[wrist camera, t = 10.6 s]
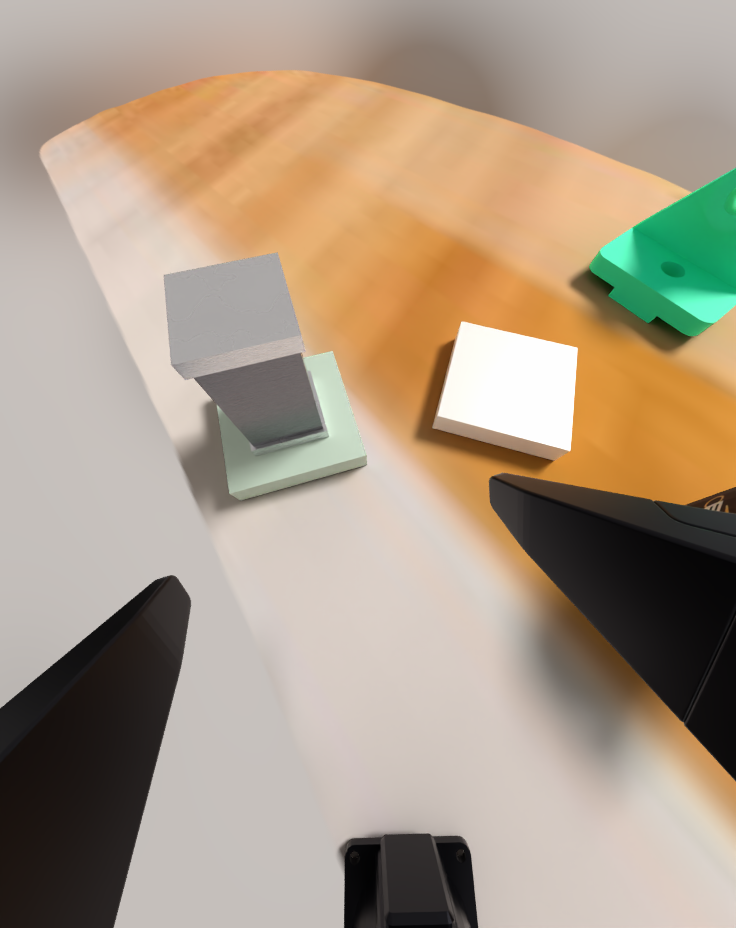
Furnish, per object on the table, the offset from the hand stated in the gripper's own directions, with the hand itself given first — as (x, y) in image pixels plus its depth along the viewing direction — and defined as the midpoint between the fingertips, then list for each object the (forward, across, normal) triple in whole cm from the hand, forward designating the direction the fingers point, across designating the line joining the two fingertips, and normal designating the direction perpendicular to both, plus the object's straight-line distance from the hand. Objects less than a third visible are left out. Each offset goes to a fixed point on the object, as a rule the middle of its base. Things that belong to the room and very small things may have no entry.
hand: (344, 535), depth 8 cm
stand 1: (+18, +2, +1) cm, 18 cm away
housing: (+16, +2, 0) cm, 17 cm away
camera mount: (+21, -36, -2) cm, 42 cm away
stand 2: (+16, -16, +3) cm, 23 cm away
